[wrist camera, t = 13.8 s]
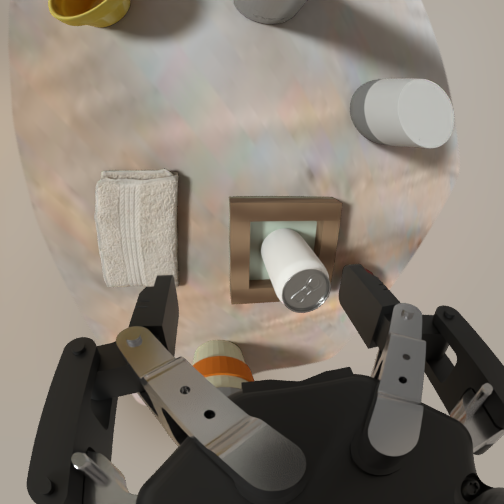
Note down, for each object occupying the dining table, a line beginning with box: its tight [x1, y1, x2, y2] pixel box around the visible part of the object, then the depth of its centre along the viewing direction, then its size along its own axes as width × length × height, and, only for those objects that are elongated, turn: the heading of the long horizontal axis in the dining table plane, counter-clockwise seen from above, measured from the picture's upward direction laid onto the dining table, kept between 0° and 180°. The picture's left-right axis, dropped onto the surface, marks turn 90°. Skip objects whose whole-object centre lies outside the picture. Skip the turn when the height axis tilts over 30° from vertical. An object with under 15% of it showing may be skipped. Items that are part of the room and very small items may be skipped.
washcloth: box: [94, 168, 179, 287], centre depth 37 cm, size 12×18×3 cm, turn 176°
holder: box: [229, 196, 342, 304], centre depth 41 cm, size 15×15×4 cm
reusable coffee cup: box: [192, 340, 254, 397], centre depth 43 cm, size 13×13×15 cm
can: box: [261, 228, 331, 313], centre depth 36 cm, size 6×6×12 cm
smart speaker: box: [350, 78, 455, 148], centre depth 29 cm, size 10×9×14 cm
